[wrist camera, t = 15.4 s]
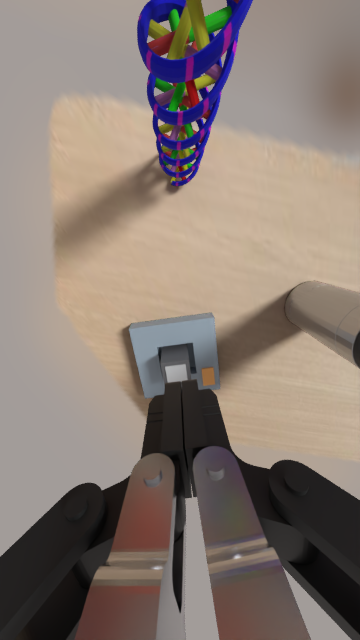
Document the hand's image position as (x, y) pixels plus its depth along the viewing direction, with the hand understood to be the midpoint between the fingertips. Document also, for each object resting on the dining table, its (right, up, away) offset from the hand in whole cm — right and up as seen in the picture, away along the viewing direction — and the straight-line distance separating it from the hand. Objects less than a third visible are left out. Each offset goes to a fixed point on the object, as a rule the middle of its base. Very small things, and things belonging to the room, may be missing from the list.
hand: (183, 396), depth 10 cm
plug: (-1, -4, +35) cm, 35 cm away
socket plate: (-1, -3, +35) cm, 35 cm away
